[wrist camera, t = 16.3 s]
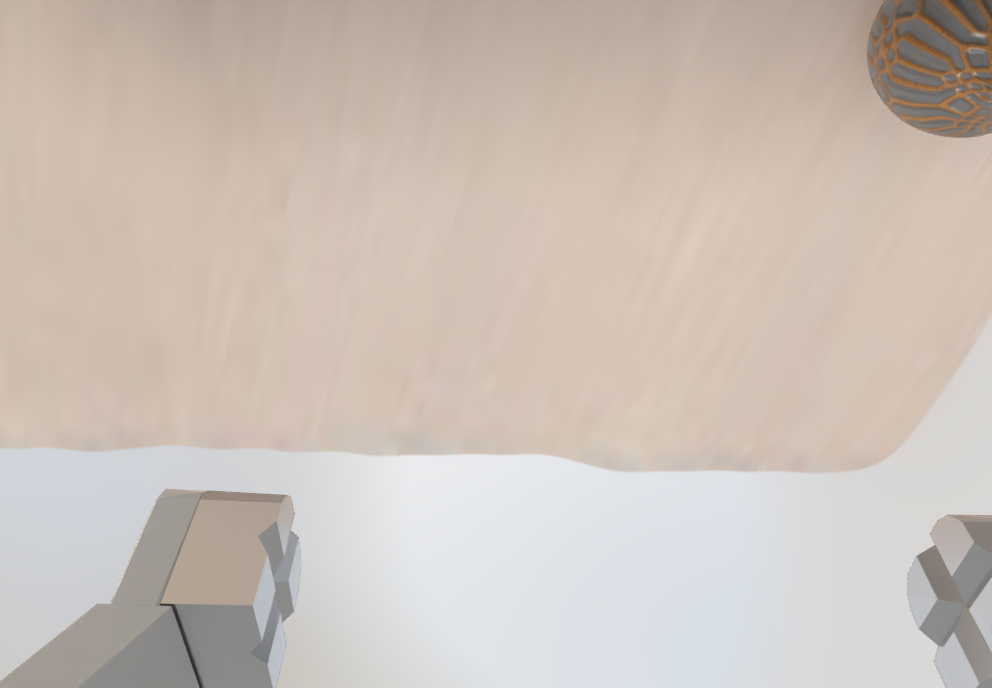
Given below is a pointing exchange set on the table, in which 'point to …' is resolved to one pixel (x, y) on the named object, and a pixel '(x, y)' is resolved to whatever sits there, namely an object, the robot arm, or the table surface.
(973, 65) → the vase
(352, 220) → the table surface
